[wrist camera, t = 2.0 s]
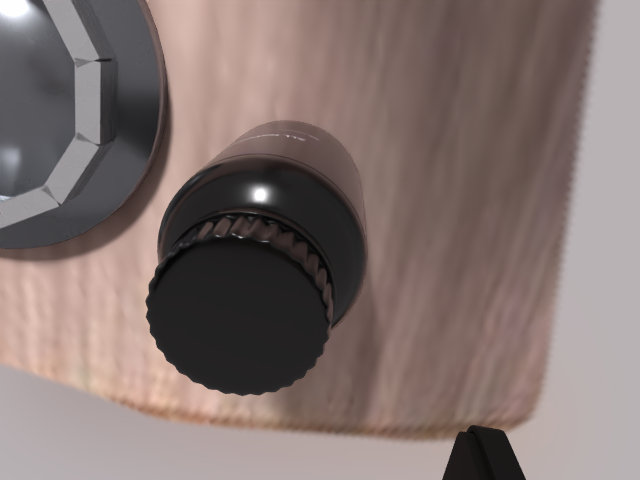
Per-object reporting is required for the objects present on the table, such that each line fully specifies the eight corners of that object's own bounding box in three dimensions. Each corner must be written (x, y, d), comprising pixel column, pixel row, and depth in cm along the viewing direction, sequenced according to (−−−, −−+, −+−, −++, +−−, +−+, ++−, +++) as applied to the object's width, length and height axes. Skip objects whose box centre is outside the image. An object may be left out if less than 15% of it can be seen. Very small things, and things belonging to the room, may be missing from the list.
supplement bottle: (292, 84, 22) (241, 124, 11) (390, 197, 23) (435, 333, 12) (187, 184, 24) (50, 308, 12) (285, 282, 25) (241, 468, 14)
